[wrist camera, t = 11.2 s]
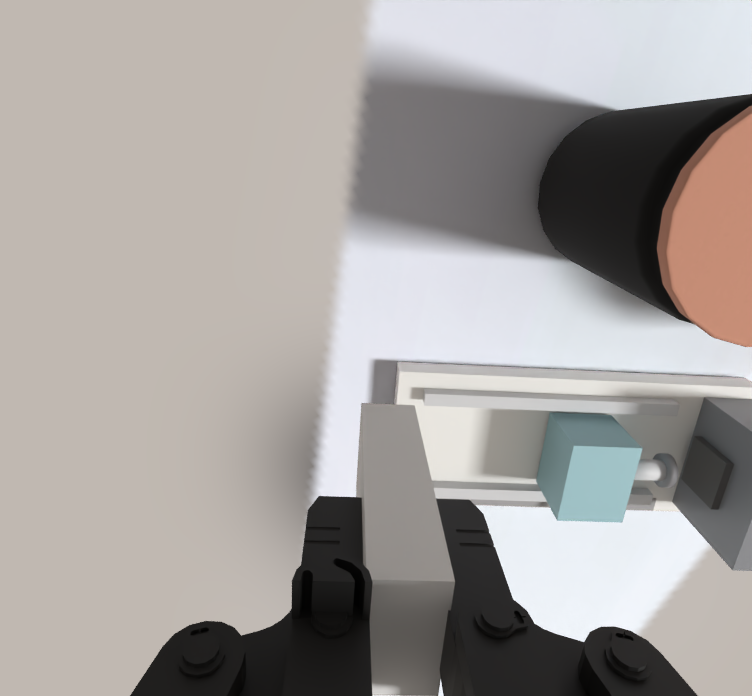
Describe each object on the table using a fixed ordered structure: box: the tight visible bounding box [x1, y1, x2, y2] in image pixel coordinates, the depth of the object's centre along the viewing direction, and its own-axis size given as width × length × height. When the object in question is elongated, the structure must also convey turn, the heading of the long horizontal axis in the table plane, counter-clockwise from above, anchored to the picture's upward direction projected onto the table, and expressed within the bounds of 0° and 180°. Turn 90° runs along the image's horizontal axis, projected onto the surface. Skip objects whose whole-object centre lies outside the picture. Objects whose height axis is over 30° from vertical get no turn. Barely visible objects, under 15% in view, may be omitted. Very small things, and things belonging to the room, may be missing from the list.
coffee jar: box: [538, 94, 752, 347], centre depth 31 cm, size 11×11×18 cm
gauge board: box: [394, 362, 752, 571], centre depth 41 cm, size 12×29×10 cm, turn 86°
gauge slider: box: [536, 413, 678, 522], centre depth 42 cm, size 9×9×5 cm
